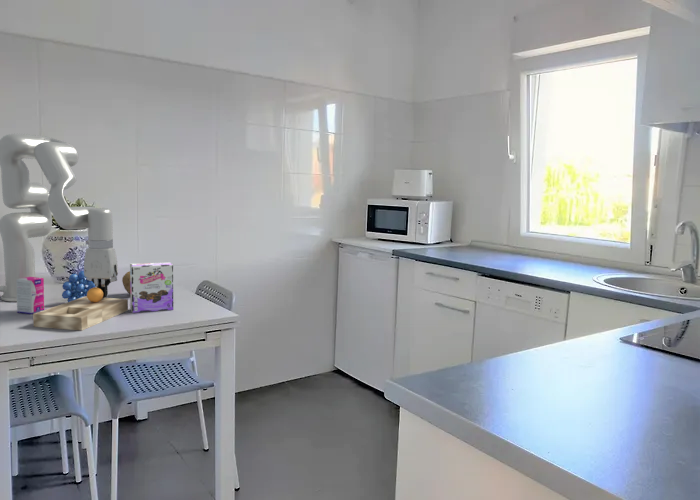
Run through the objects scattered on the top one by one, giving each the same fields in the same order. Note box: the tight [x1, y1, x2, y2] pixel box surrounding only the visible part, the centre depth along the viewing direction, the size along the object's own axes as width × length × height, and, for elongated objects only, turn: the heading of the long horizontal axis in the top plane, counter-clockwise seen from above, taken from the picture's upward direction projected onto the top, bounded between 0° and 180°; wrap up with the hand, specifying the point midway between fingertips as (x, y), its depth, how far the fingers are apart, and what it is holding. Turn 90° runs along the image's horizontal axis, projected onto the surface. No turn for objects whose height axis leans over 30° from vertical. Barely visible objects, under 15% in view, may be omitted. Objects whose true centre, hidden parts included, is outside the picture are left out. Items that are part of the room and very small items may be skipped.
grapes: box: [61, 270, 96, 302], centre depth 190 cm, size 12×7×12 cm, turn 134°
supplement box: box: [16, 276, 45, 315], centre depth 177 cm, size 6×6×12 cm
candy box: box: [129, 261, 174, 314], centre depth 185 cm, size 14×6×16 cm, turn 117°
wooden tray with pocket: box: [32, 296, 129, 331], centre depth 172 cm, size 16×25×4 cm, turn 172°
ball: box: [87, 287, 103, 302], centre depth 177 cm, size 5×5×5 cm
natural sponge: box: [121, 270, 130, 295], centre depth 206 cm, size 9×9×10 cm
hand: (102, 297), depth 181 cm, fingers closed
